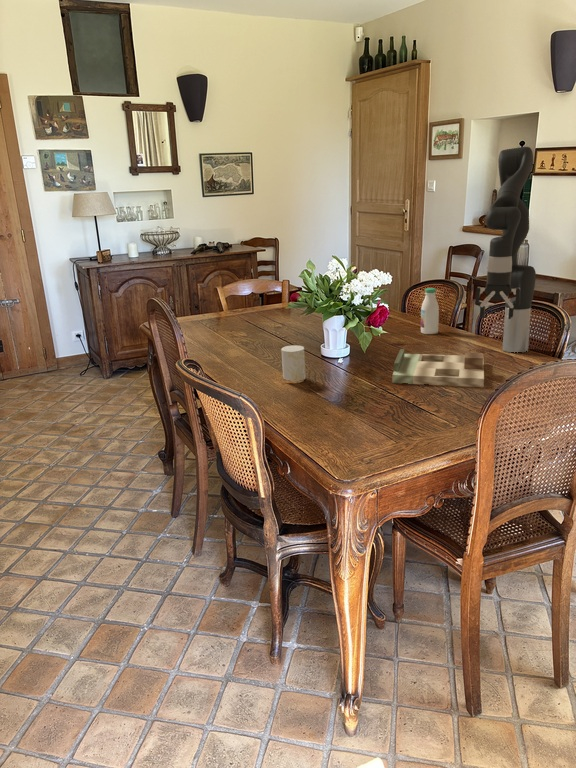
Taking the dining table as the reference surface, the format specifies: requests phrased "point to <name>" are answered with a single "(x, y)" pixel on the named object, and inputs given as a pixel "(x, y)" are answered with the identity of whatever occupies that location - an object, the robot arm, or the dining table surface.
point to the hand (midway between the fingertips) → (496, 318)
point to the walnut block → (473, 361)
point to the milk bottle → (429, 312)
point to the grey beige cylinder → (293, 363)
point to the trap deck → (435, 370)
